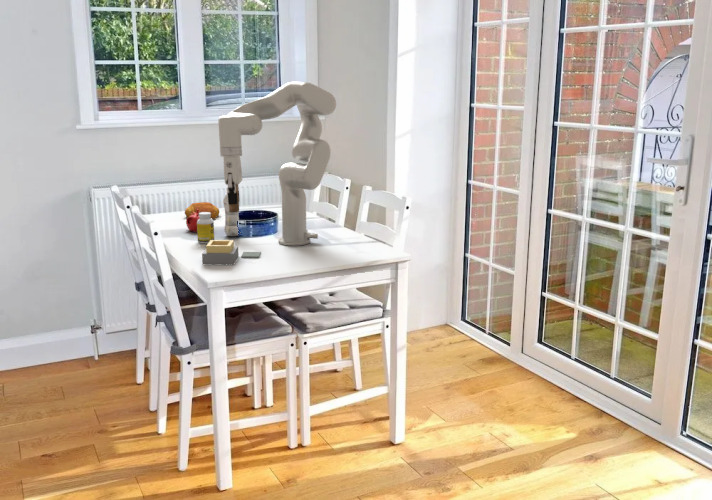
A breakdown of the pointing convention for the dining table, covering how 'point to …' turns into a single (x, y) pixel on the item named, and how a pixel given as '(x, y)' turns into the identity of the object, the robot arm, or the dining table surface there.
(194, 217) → the pomegranate
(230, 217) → the plastic bottle
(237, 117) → the robot arm
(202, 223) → the pill bottle
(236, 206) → the brown wooden tall bar
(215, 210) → the croissant
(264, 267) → the dining table surface
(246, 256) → the coaster
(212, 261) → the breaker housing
